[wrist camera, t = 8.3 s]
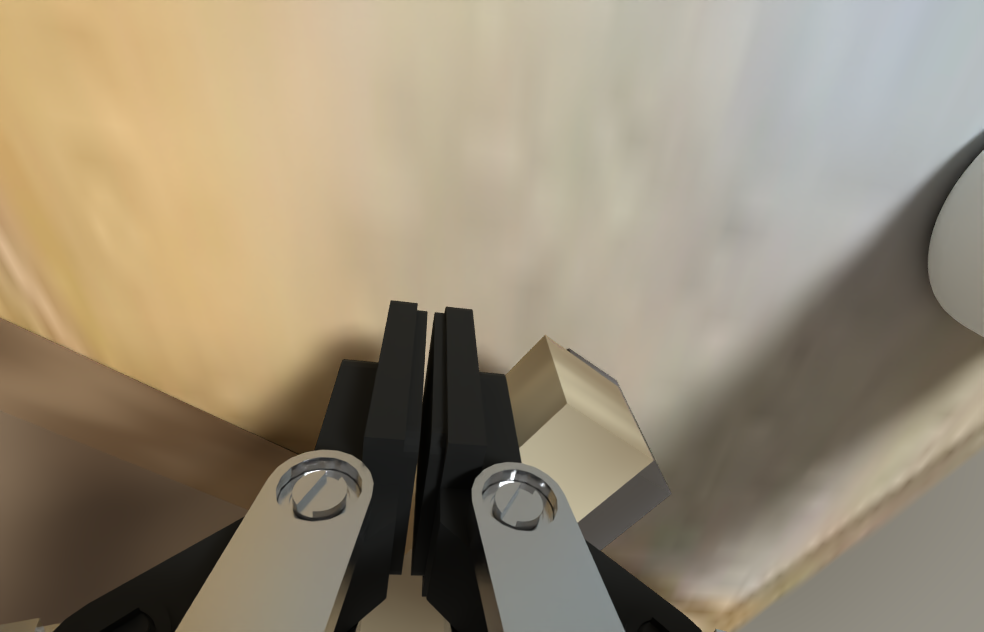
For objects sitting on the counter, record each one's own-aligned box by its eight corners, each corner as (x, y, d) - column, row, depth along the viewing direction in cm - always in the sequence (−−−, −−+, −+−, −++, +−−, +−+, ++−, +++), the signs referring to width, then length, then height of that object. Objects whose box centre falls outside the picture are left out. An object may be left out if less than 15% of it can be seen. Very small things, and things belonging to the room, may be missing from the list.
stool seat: (-308, 617, 18) (-756, 964, 11) (-168, -152, 9) (-1975, -695, 2) (234, 742, 24) (155, 1002, 18) (616, 380, 16) (738, 630, 9)
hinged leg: (345, 633, 16) (328, 740, 14) (276, 609, 15) (243, 719, 13) (618, 386, 12) (661, 475, 10) (545, 334, 11) (571, 417, 9)
